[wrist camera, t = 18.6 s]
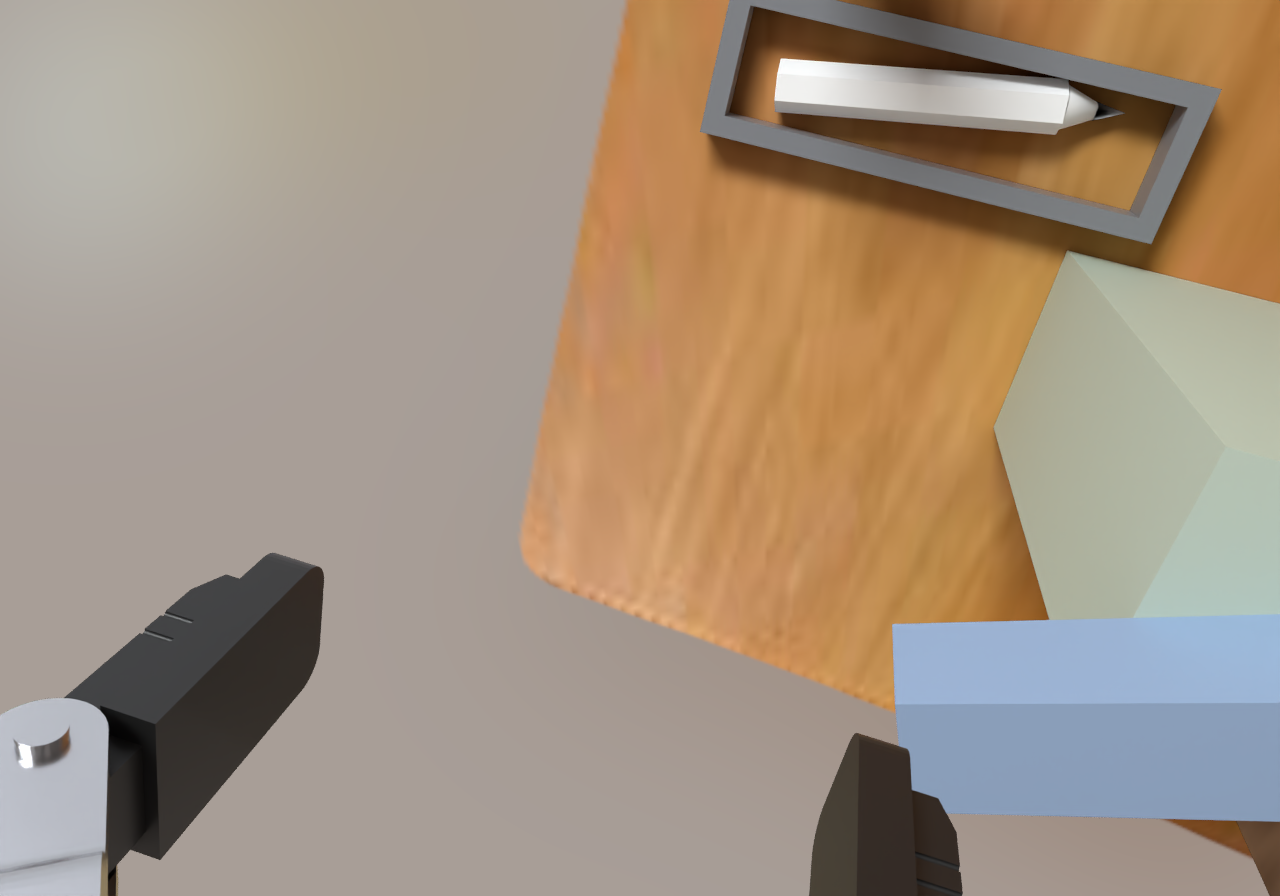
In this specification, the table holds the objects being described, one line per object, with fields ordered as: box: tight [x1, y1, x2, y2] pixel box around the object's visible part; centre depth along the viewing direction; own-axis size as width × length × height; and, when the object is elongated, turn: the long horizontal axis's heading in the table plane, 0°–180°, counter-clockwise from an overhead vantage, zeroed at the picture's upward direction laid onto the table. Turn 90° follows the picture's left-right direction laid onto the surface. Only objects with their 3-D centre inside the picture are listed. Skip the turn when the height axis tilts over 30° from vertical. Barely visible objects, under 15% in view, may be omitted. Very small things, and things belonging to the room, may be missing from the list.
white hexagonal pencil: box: [775, 59, 1124, 135], centre depth 45 cm, size 3×2×16 cm
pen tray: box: [700, 0, 1222, 244], centre depth 45 cm, size 7×22×2 cm, turn 77°
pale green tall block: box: [994, 250, 1280, 620], centre depth 39 cm, size 10×12×24 cm
